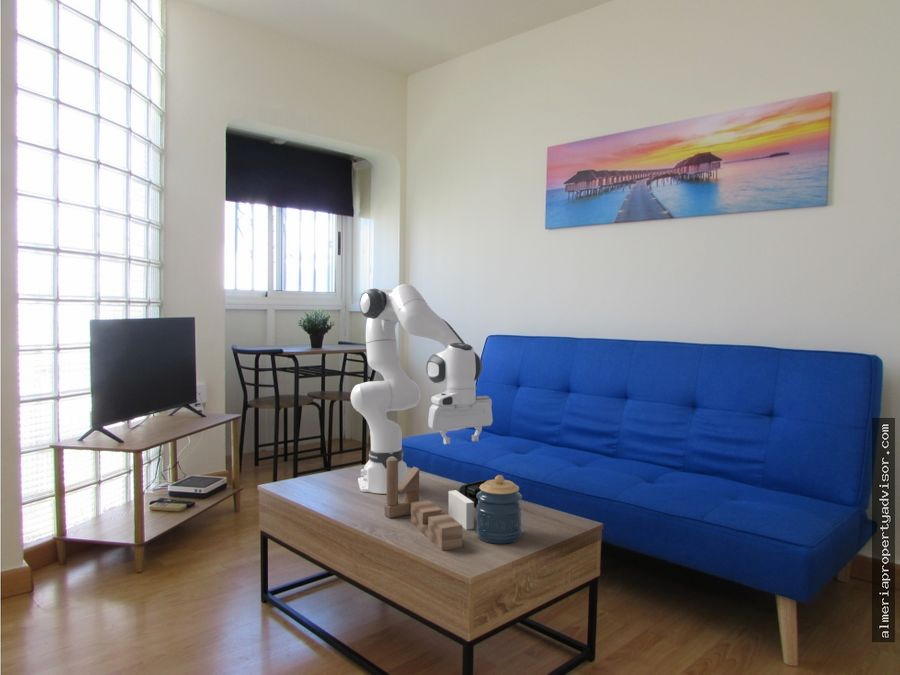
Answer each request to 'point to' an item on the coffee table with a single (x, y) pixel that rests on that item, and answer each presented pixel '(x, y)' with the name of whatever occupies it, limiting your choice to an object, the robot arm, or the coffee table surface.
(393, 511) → the wooden block
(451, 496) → the white rectangular slab
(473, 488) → the end cap
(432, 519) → the walnut crossbar
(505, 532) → the canister
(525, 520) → the coffee table surface
